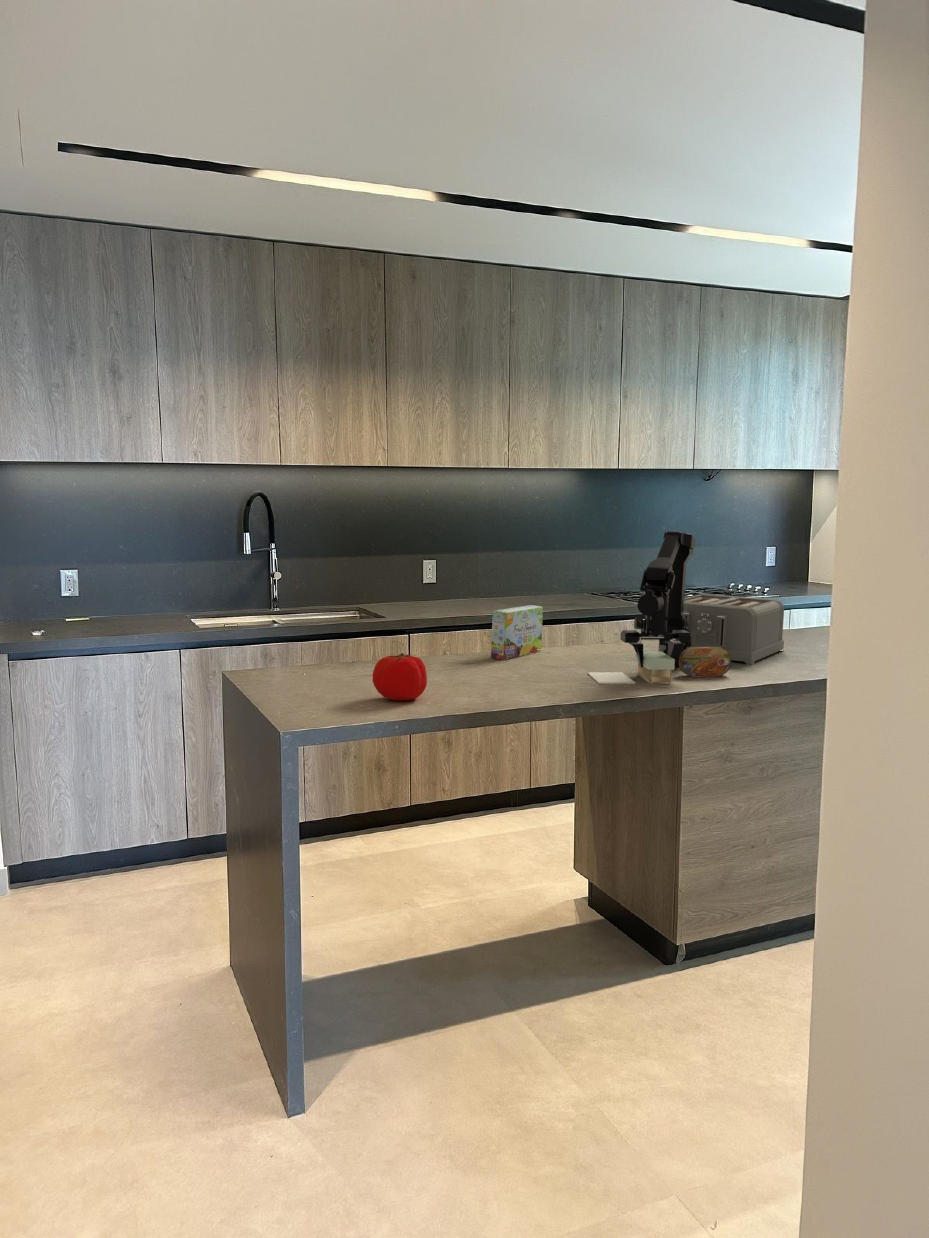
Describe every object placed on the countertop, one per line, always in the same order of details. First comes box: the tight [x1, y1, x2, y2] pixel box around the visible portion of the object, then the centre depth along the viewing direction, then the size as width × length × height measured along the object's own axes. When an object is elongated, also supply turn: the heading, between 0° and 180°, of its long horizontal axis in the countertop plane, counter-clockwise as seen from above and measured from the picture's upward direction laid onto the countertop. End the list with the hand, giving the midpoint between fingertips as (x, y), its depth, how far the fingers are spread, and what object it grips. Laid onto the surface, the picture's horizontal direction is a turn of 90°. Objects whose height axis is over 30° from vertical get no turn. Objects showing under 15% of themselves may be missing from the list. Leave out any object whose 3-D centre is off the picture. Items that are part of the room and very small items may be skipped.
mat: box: [587, 671, 636, 685], centre depth 257 cm, size 10×14×1 cm
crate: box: [637, 662, 673, 685], centre depth 257 cm, size 6×12×4 cm, turn 5°
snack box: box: [490, 604, 544, 661], centre depth 291 cm, size 21×6×15 cm, turn 143°
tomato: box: [372, 652, 428, 702], centre depth 227 cm, size 12×13×12 cm
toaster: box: [658, 593, 785, 665], centre depth 300 cm, size 31×36×17 cm
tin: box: [678, 647, 732, 678], centre depth 263 cm, size 15×3×8 cm, turn 99°
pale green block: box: [635, 650, 675, 671], centre depth 256 cm, size 7×12×4 cm, turn 5°
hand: (654, 667), depth 257 cm, fingers closed on pale green block, 7 cm apart
